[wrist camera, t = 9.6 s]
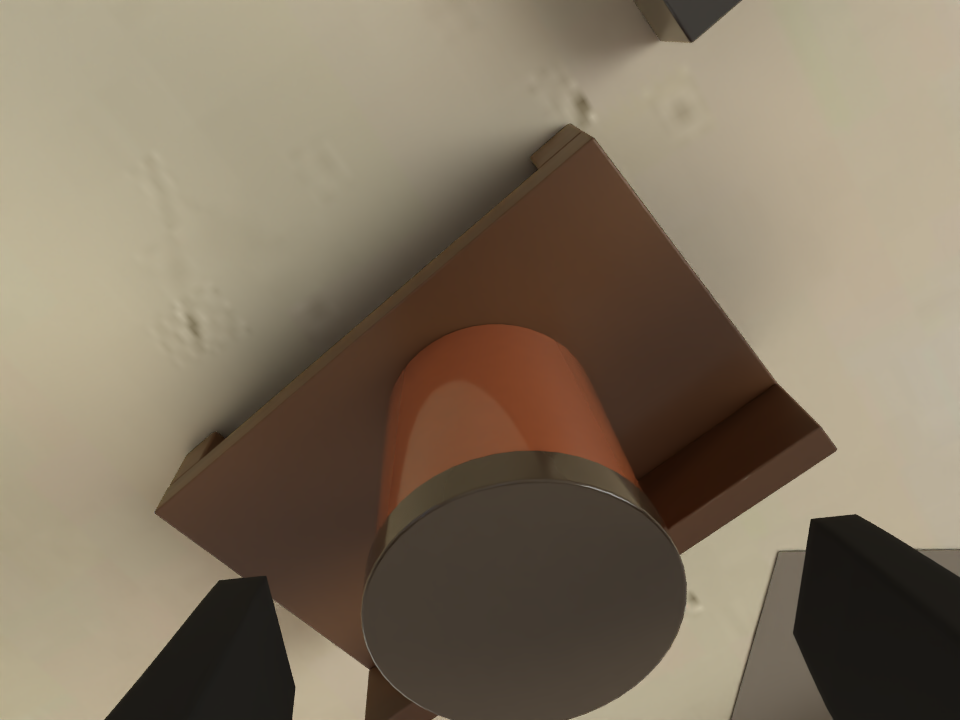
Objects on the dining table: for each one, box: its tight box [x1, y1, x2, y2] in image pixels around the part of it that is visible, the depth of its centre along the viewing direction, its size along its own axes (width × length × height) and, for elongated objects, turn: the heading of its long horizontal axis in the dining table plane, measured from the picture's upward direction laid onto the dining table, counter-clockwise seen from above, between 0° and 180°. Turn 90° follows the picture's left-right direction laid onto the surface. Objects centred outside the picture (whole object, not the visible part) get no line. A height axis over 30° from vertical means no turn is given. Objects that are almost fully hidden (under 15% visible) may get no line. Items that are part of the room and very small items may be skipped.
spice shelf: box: [155, 124, 837, 720], centre depth 17 cm, size 8×13×4 cm, turn 130°
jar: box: [361, 324, 687, 720], centre depth 13 cm, size 5×5×6 cm
